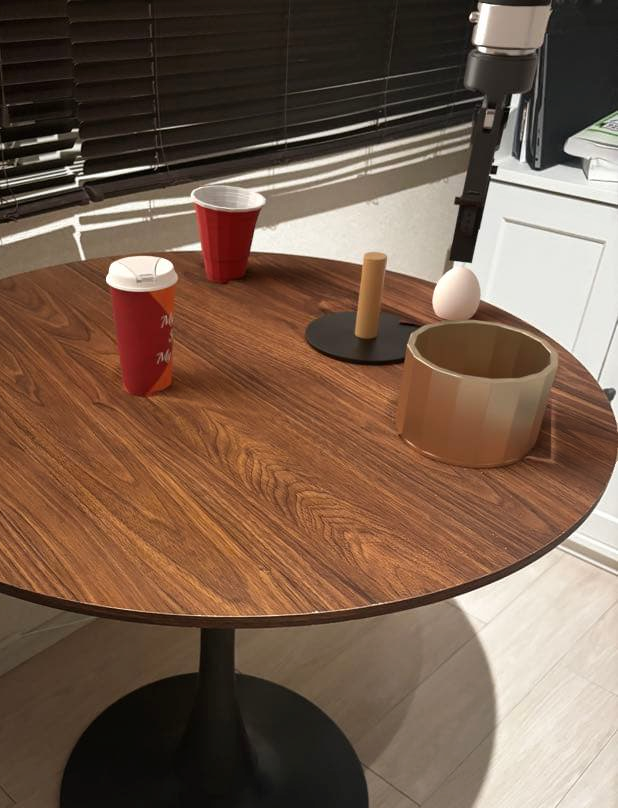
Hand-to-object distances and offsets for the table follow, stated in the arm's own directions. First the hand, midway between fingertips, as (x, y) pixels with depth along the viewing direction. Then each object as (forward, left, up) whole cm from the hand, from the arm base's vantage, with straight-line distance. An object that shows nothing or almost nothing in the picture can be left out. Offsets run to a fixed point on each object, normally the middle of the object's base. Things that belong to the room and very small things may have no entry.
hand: (465, 243), depth 103 cm
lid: (+10, +10, -10) cm, 17 cm away
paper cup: (+32, +30, -11) cm, 45 cm away
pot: (-4, +29, -11) cm, 31 cm away
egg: (0, 0, -11) cm, 11 cm away
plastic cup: (+34, -7, -11) cm, 36 cm away
